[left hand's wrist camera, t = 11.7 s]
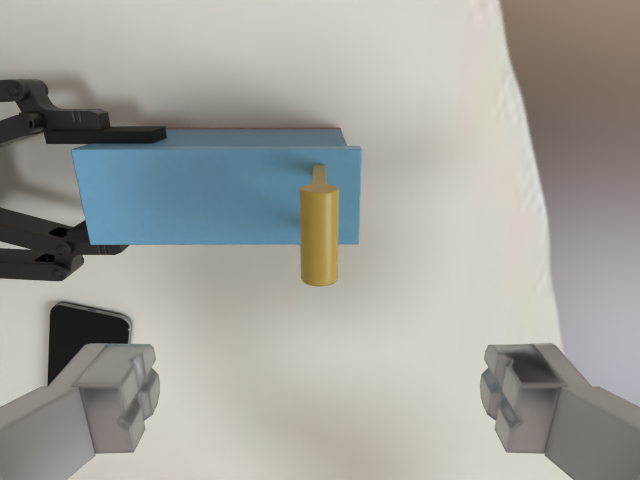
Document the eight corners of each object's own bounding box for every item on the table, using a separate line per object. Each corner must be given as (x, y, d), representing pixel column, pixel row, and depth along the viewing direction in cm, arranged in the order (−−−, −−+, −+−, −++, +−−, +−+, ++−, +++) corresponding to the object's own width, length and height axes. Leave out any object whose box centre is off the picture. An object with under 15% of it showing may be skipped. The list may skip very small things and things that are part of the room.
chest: (340, 128, 34) (347, 145, 25) (339, 198, 36) (345, 237, 27) (142, 128, 34) (81, 146, 25) (152, 199, 36) (99, 237, 27)
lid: (359, 146, 25) (377, 176, 18) (356, 237, 27) (371, 300, 20) (81, 146, 25) (-23, 176, 18) (99, 238, 27) (13, 301, 20)
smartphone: (130, 320, 39) (117, 442, 44) (133, 316, 40) (120, 437, 45) (49, 303, 39) (45, 429, 44) (53, 299, 39) (49, 424, 44)
